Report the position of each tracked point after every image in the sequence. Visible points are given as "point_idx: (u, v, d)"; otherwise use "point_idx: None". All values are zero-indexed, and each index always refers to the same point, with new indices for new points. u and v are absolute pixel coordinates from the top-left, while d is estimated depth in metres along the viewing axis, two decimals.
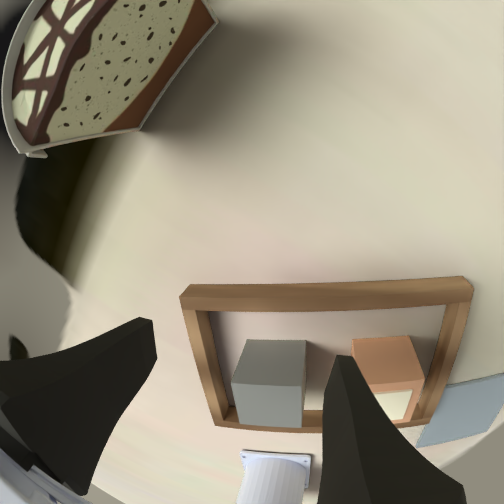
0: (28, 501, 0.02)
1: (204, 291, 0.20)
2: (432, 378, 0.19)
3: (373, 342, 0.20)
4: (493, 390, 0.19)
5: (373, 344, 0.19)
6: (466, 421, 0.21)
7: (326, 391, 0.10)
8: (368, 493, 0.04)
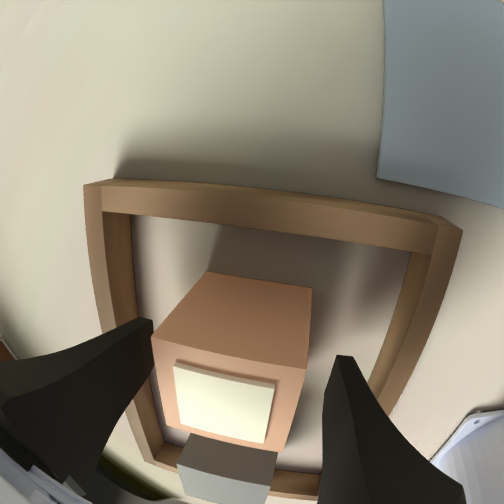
0: (28, 501, 0.02)
1: None
2: None
3: None
4: (432, 21, 0.07)
5: None
6: None
7: (326, 391, 0.10)
8: (368, 493, 0.04)
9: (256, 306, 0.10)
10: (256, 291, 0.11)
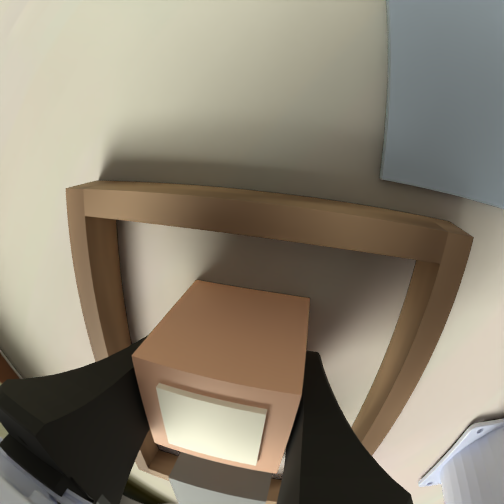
0: (28, 501, 0.02)
1: None
2: None
3: None
4: (438, 11, 0.06)
5: None
6: None
7: None
8: (301, 491, 0.04)
9: (248, 320, 0.09)
10: (248, 303, 0.10)
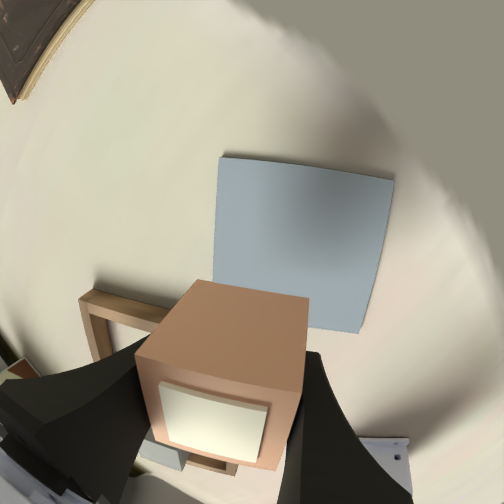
0: (28, 501, 0.02)
1: None
2: None
3: None
4: (248, 213, 0.17)
5: None
6: (320, 252, 0.17)
7: None
8: (302, 491, 0.04)
9: (248, 320, 0.09)
10: (249, 302, 0.11)
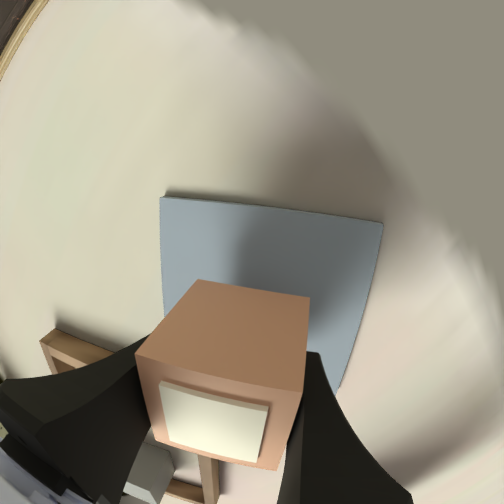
0: (28, 501, 0.02)
1: None
2: None
3: None
4: (197, 266, 0.14)
5: None
6: None
7: None
8: (301, 491, 0.04)
9: (249, 319, 0.09)
10: (249, 302, 0.10)
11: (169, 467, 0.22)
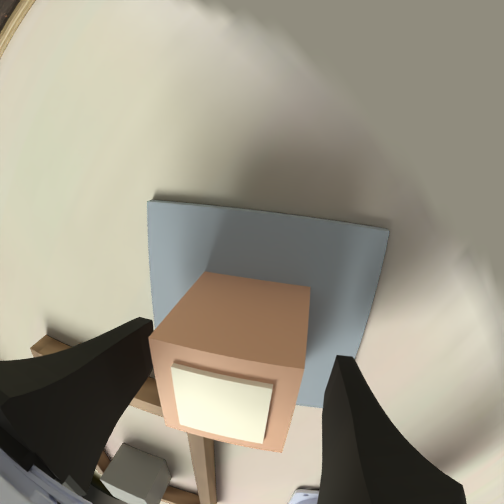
0: (28, 501, 0.02)
1: None
2: None
3: None
4: (187, 275, 0.13)
5: None
6: None
7: (326, 391, 0.10)
8: (368, 493, 0.04)
9: (254, 306, 0.10)
10: (254, 291, 0.11)
11: (165, 475, 0.21)
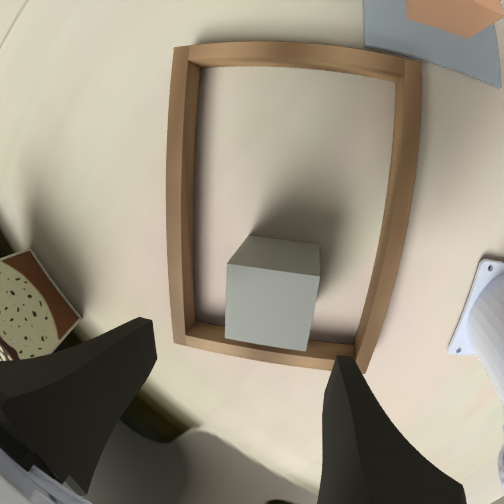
0: (28, 501, 0.02)
1: None
2: (326, 65, 0.14)
3: None
4: None
5: None
6: None
7: (326, 391, 0.10)
8: (368, 493, 0.04)
9: None
10: None
11: None
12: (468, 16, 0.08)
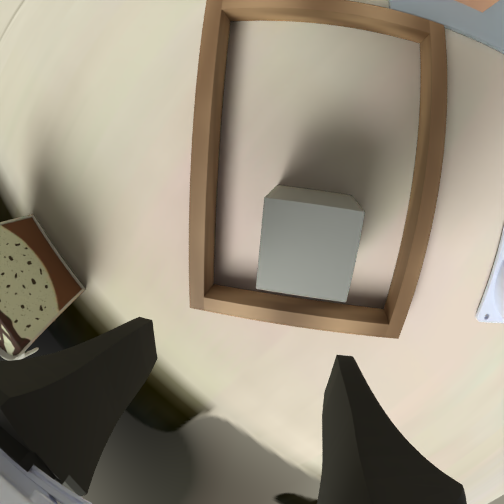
0: (28, 501, 0.02)
1: None
2: (356, 22, 0.12)
3: None
4: None
5: None
6: None
7: (326, 391, 0.10)
8: (368, 493, 0.04)
9: None
10: None
11: None
12: None
